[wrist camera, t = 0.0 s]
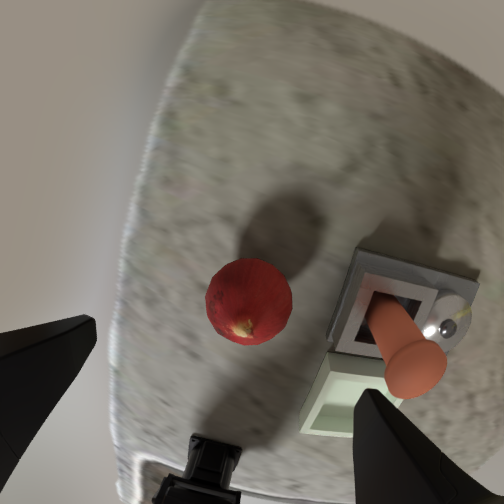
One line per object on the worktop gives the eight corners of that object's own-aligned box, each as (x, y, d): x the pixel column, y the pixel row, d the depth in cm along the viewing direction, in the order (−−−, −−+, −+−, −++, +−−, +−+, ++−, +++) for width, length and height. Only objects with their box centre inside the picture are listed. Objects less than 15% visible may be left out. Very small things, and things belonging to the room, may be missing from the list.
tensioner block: (441, 352, 23) (455, 372, 20) (325, 334, 24) (330, 358, 20) (474, 279, 21) (494, 294, 17) (355, 247, 21) (367, 260, 18)
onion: (238, 322, 24) (218, 384, 17) (206, 264, 23) (169, 308, 15) (302, 298, 23) (307, 357, 15) (272, 233, 22) (264, 269, 14)
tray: (370, 420, 26) (375, 438, 23) (299, 413, 27) (298, 432, 24) (406, 363, 24) (415, 380, 21) (327, 351, 24) (330, 370, 21)
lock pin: (390, 330, 22) (427, 399, 13) (351, 323, 22) (376, 397, 14) (407, 289, 21) (457, 350, 12) (366, 280, 21) (406, 343, 12)
